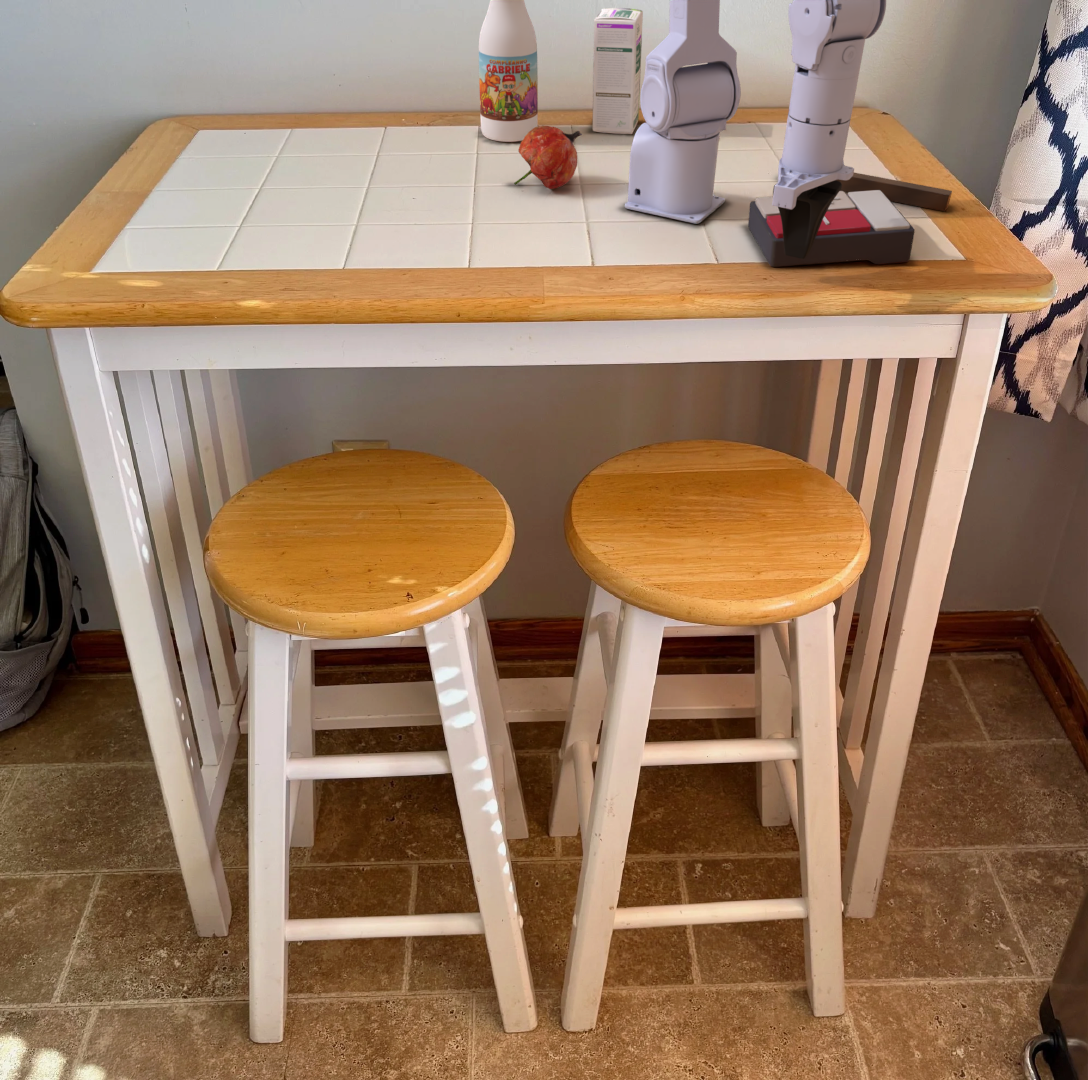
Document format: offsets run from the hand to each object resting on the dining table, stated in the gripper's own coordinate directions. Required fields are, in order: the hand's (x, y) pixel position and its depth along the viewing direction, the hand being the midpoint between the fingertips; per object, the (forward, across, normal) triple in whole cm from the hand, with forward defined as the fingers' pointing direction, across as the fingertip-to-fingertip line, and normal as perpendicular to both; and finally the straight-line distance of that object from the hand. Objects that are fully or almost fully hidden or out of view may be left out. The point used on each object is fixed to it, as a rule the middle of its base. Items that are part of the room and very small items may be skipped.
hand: (796, 254), depth 106 cm
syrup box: (+3, +34, +38) cm, 51 cm away
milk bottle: (+3, +24, +49) cm, 55 cm away
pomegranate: (+3, +10, +35) cm, 36 cm away
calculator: (+3, +10, 0) cm, 11 cm away
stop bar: (+3, +27, +1) cm, 27 cm away
